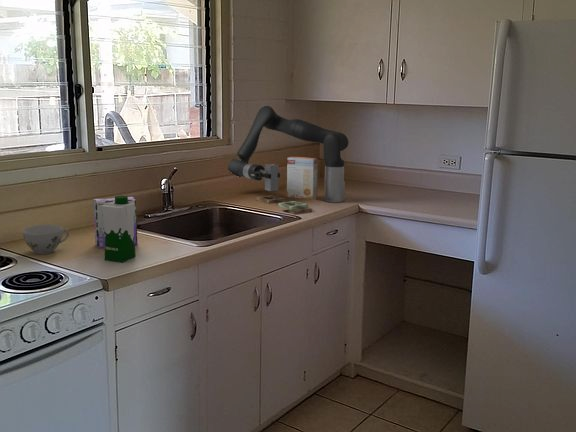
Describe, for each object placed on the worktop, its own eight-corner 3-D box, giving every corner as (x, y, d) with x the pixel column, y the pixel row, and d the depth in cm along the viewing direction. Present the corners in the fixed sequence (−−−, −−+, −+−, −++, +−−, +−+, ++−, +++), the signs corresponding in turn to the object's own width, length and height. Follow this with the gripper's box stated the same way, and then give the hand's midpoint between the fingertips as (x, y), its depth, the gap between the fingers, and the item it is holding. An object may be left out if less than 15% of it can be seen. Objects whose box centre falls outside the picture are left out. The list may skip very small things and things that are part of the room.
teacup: (32, 259, 196) (30, 235, 194) (18, 251, 205) (16, 228, 203) (77, 251, 206) (76, 228, 204) (62, 243, 215) (61, 221, 213)
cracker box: (317, 200, 301) (318, 157, 297) (312, 202, 296) (313, 159, 291) (291, 197, 307) (292, 155, 302) (286, 199, 301) (287, 157, 297)
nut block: (272, 188, 291) (272, 163, 289) (278, 190, 288) (278, 164, 285) (264, 189, 288) (264, 164, 286) (270, 191, 285) (270, 165, 282)
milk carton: (139, 256, 201) (137, 196, 197) (122, 264, 193) (120, 201, 188) (117, 253, 204) (114, 194, 200) (99, 260, 196) (96, 199, 192)
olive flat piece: (271, 200, 297) (271, 194, 297) (311, 211, 274) (311, 205, 274) (254, 203, 291) (254, 196, 291) (294, 214, 268) (294, 207, 268)
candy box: (97, 248, 210) (94, 201, 206) (95, 244, 215) (92, 198, 211) (138, 245, 215) (136, 199, 212) (135, 241, 220) (133, 196, 217)
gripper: (241, 165, 292) (262, 169, 279) (265, 163, 301) (287, 166, 288) (241, 180, 294) (262, 185, 281) (265, 178, 303) (287, 182, 290)
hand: (274, 175), depth 284 cm, fingers closed on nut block, 4 cm apart
